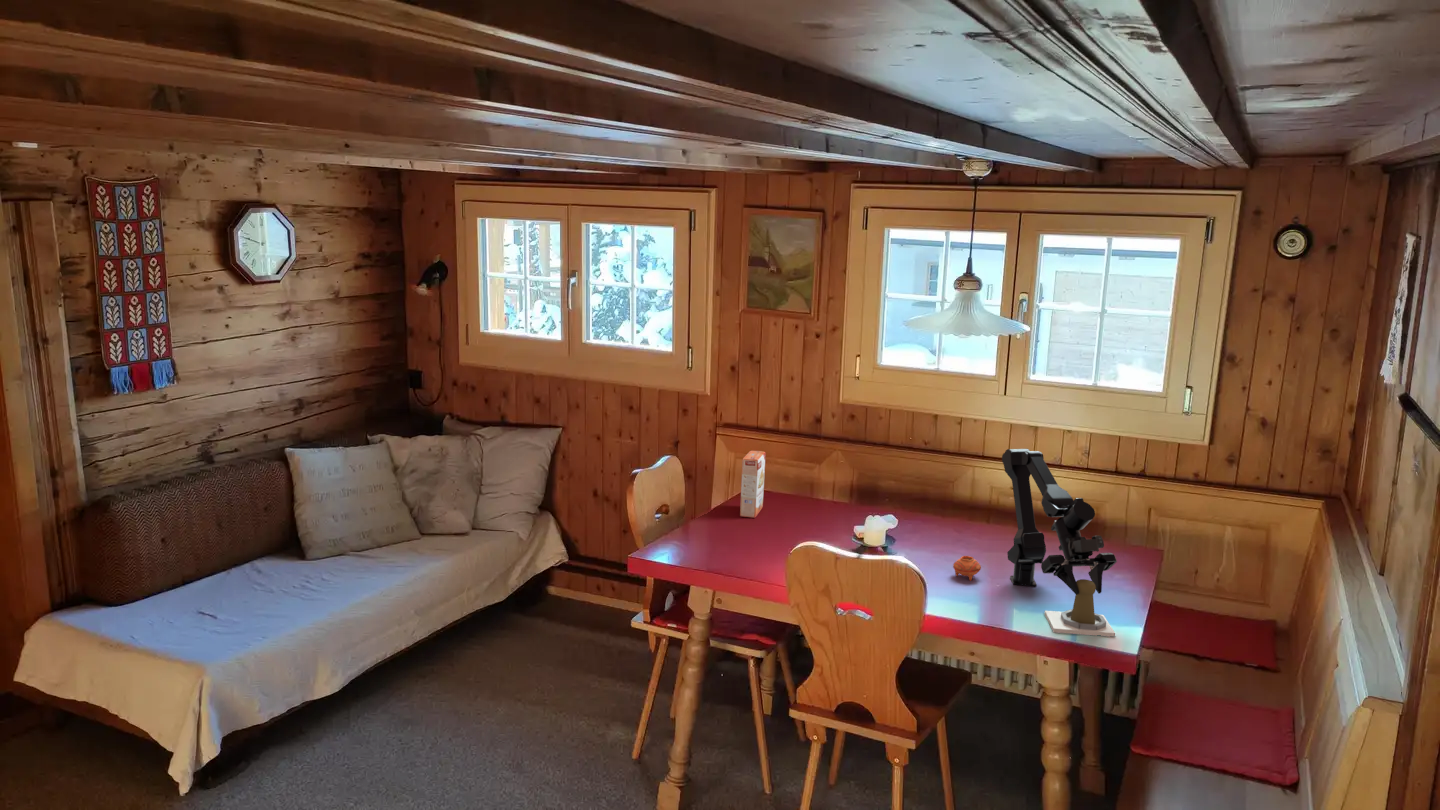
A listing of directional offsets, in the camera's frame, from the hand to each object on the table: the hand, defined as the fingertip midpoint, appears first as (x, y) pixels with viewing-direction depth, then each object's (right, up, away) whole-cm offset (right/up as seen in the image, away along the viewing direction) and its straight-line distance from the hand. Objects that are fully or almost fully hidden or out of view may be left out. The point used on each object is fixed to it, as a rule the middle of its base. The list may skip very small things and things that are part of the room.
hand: (1088, 593), depth 253 cm
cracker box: (-83, +10, +95) cm, 127 cm away
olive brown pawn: (-1, -8, +3) cm, 8 cm away
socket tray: (-2, -9, +3) cm, 9 cm away
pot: (-22, -2, +36) cm, 43 cm away
